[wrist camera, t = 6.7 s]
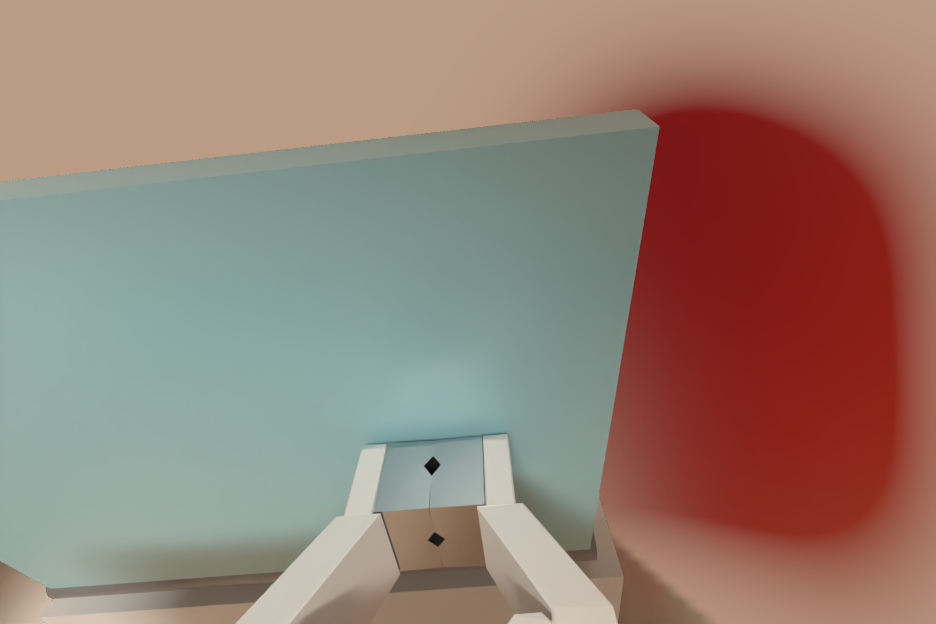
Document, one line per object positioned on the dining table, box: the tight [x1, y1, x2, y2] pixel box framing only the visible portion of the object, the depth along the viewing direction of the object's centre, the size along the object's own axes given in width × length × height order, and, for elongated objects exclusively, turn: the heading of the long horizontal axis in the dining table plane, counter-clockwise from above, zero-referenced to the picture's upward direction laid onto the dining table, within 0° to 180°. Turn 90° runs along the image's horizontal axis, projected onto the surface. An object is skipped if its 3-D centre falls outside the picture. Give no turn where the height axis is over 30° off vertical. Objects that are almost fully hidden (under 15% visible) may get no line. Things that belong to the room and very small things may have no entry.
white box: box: [39, 498, 624, 624], centre depth 21 cm, size 18×12×9 cm
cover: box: [0, 109, 659, 599], centre depth 10 cm, size 16×12×1 cm
